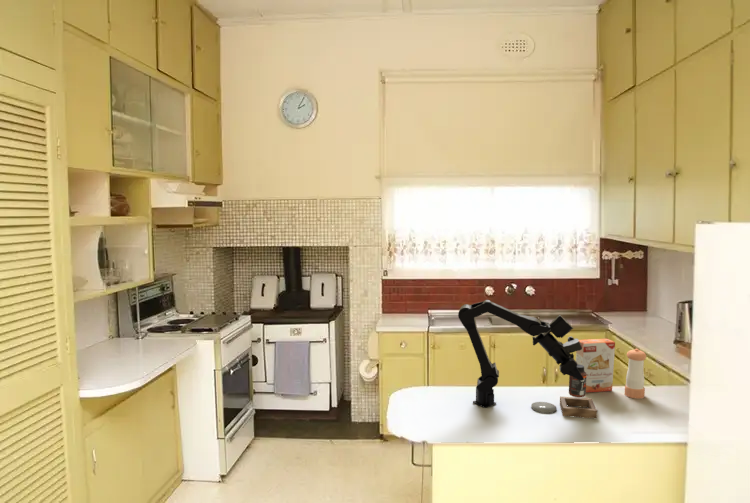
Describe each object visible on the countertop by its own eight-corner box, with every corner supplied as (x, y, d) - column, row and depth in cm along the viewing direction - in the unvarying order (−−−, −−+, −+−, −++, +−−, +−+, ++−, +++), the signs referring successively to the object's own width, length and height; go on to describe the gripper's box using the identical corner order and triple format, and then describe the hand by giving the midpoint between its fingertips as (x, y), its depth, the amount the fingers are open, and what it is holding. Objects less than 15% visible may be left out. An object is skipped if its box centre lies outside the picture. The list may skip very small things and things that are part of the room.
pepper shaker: (642, 392, 227) (644, 346, 225) (646, 399, 220) (649, 351, 218) (622, 391, 229) (625, 345, 226) (626, 397, 222) (628, 350, 219)
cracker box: (581, 393, 226) (583, 343, 224) (573, 388, 232) (575, 339, 230) (613, 391, 228) (615, 341, 226) (604, 386, 234) (607, 337, 232)
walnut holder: (562, 415, 204) (563, 408, 204) (559, 403, 216) (559, 396, 215) (596, 418, 202) (597, 410, 202) (591, 406, 213) (591, 398, 213)
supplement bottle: (586, 398, 205) (588, 368, 203) (569, 397, 206) (571, 367, 204) (584, 392, 210) (585, 363, 209) (567, 391, 212) (568, 362, 210)
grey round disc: (526, 407, 212) (526, 405, 212) (541, 402, 218) (541, 400, 217) (546, 415, 205) (546, 413, 205) (561, 409, 210) (561, 407, 210)
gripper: (572, 338, 197) (603, 371, 196) (566, 325, 215) (594, 355, 214) (547, 358, 200) (578, 391, 199) (543, 344, 218) (572, 374, 217)
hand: (581, 377), depth 207 cm, fingers closed on supplement bottle, 6 cm apart
